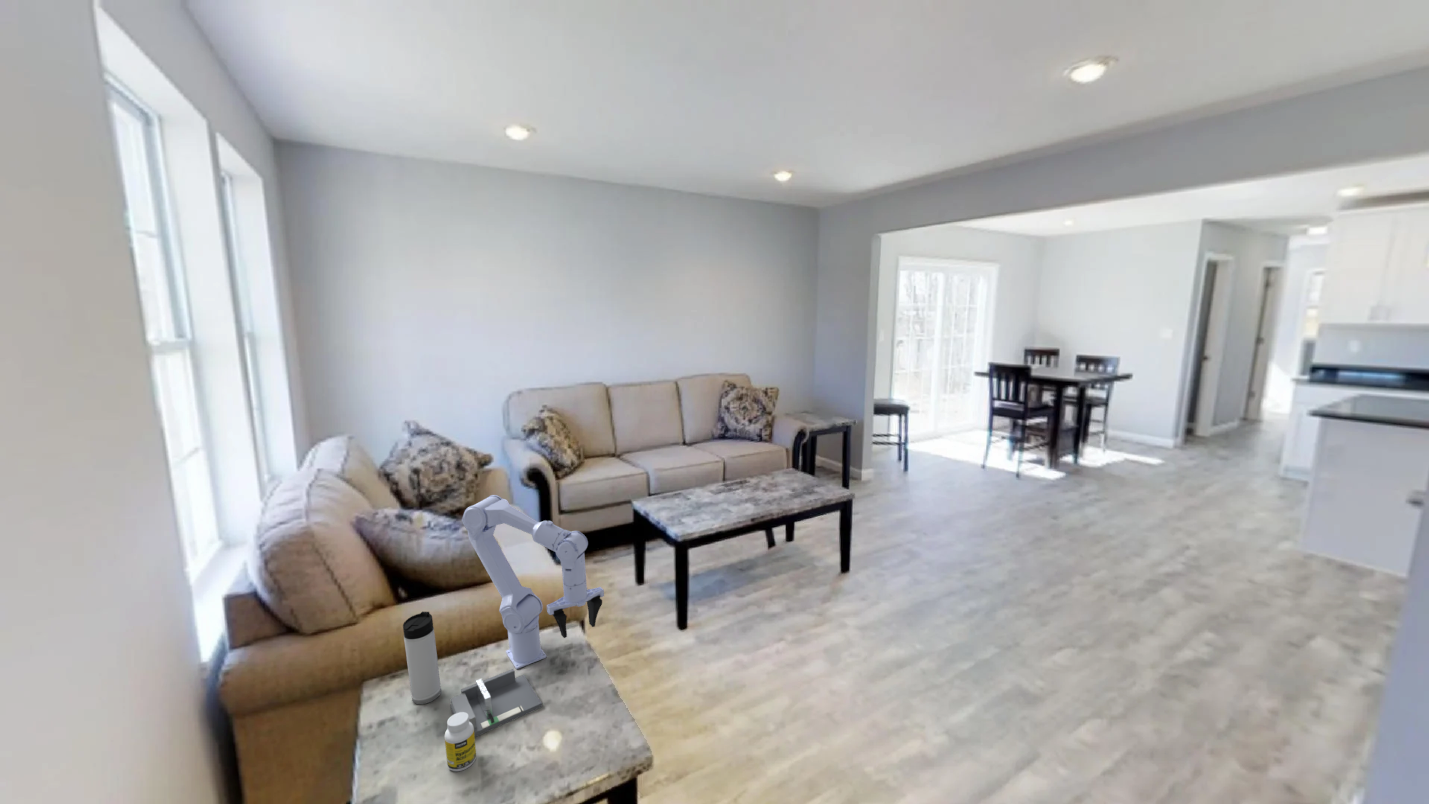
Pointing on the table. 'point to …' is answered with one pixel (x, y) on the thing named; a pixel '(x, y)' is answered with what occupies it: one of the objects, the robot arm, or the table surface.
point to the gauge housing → (497, 701)
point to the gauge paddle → (484, 699)
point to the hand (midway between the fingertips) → (578, 630)
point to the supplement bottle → (460, 742)
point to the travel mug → (422, 658)
